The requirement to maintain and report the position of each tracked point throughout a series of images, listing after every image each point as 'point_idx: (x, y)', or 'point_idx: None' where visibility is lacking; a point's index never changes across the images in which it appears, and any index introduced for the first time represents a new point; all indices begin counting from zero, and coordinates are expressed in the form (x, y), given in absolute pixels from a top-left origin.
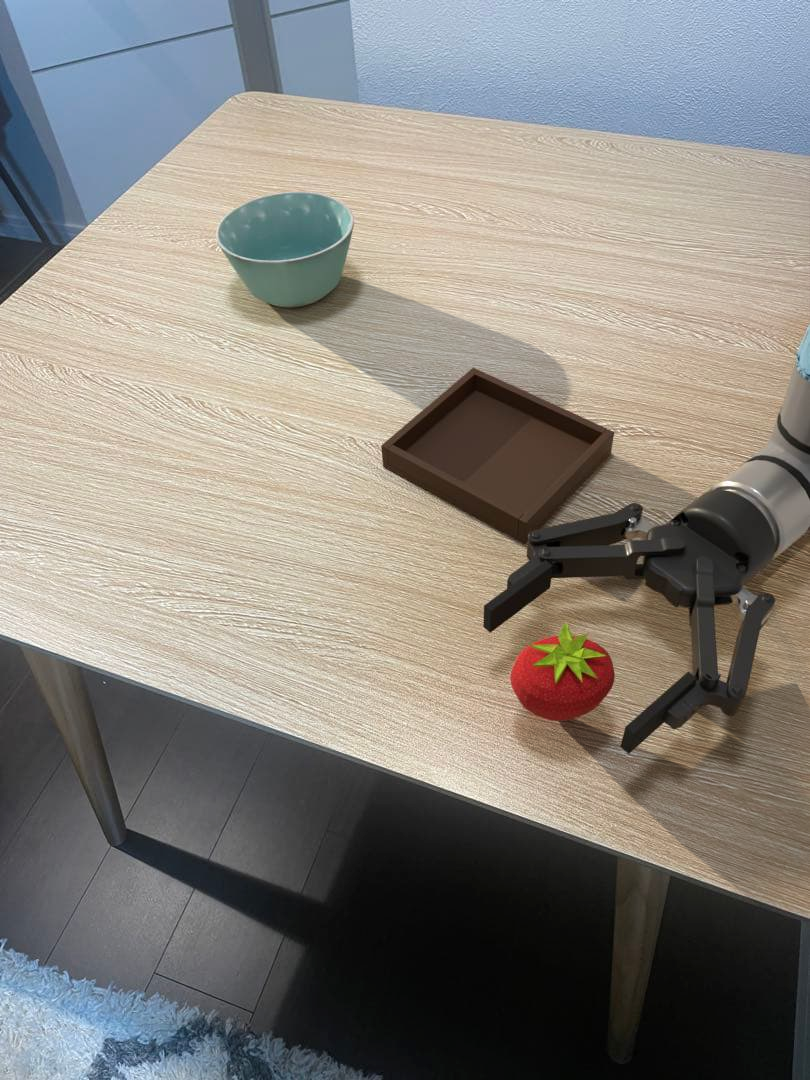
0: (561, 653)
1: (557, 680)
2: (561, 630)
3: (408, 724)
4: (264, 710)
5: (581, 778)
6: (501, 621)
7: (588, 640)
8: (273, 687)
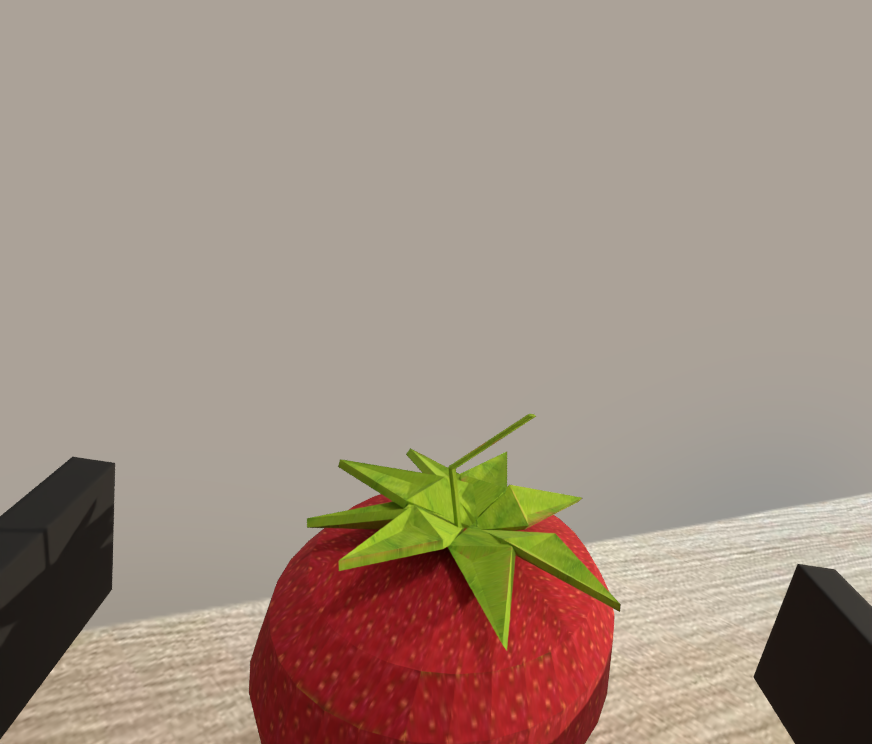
0: (485, 510)
1: (410, 455)
2: (577, 558)
3: None
4: (744, 527)
5: (201, 719)
6: (789, 705)
7: (478, 670)
8: (789, 552)
